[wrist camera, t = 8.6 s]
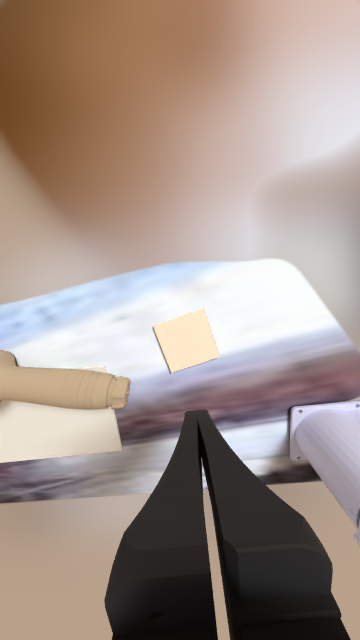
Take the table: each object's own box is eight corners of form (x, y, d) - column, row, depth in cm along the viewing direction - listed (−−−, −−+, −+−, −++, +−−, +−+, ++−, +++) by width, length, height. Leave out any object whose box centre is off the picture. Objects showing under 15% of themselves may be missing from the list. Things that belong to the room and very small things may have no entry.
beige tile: (202, 307, 21) (204, 308, 20) (218, 353, 22) (220, 356, 21) (154, 324, 21) (152, 326, 20) (171, 368, 22) (171, 372, 21)
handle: (129, 362, 19) (-29, 346, 18) (117, 432, 17) (-59, 420, 16) (135, 363, 23) (11, 351, 22) (126, 419, 22) (-9, 408, 20)
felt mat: (105, 365, 22) (104, 366, 21) (122, 448, 24) (121, 450, 24) (-59, 382, 22) (-62, 383, 22) (-25, 463, 24) (-28, 465, 24)
